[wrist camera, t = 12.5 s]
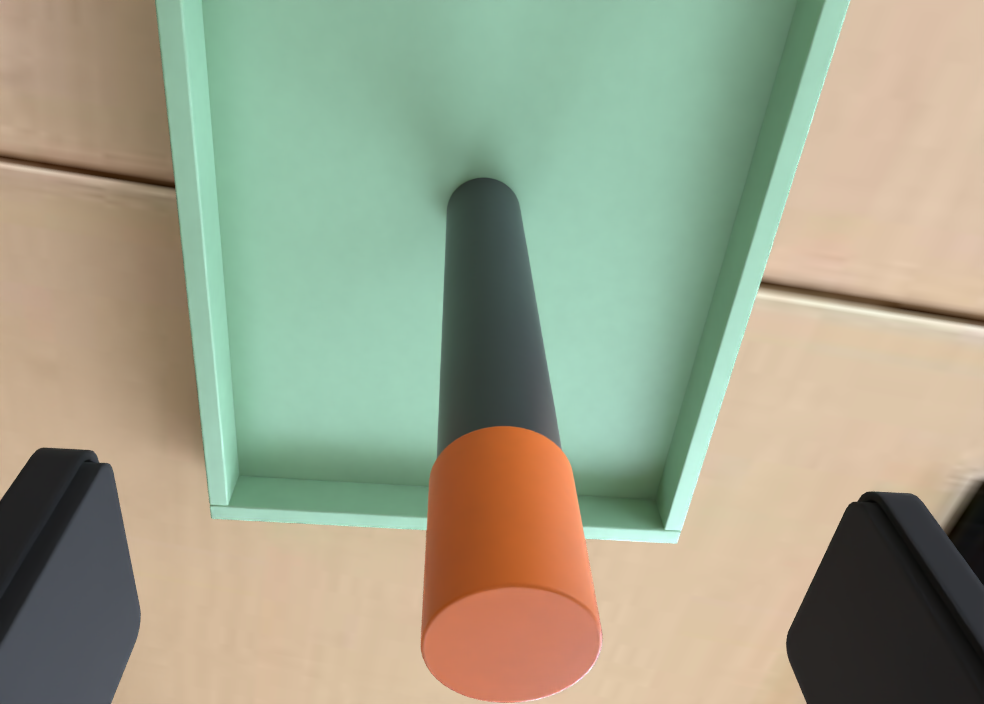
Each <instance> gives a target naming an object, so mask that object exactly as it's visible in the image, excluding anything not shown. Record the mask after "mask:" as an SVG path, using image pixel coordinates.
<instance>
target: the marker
mask: <svg viewBox="0 0 984 704" xmlns="http://www.w3.org/2000/svg"><path fill="white" fill-rule="evenodd" d="M601 646H602V629H601V623H600V618H599V612H598V607H597V602H596V596H595V591H594V585H593V580H592V574H591V569H590V564H589V558H588V553H587V547H586V542H585V536H584V531H583V526H582V520H581V515H580V509H579V504H578V498H577V493H576V488H575V482H574V477H573V472H572V467H571V465H570V462H569V460H568V458H567V457H566V455H565V454H564V452H563V451H562V446H561V441H560V435H559V429H558V423H557V417H556V412H555V406H554V400H553V394H552V389H551V383H550V377H549V371H548V365H547V360H546V354H545V348H544V342H543V337H542V331H541V325H540V319H539V314H538V308H537V302H536V296H535V290H534V285H533V279H532V273H531V267H530V262H529V256H528V250H527V244H526V238H525V233H524V227H523V221H522V215H521V210H520V205H519V201H518V198H517V197H516V195H515V193H514V192H513V191H512V190H511V188H510V187H508V186H507V185H506V184H504V183H503V182H501V181H498V180H496V179H492V178H476V179H472V180H469V181H467V182H465V183H463V184H462V185H460V186H459V187H458V188H457V189H456V190H455V191H454V192H453V194H452V196H451V197H450V199H449V202H448V205H447V217H446V242H445V266H444V291H443V315H442V340H441V364H440V389H439V413H438V438H437V459H436V461H435V463H434V465H433V467H432V470H431V473H430V478H429V493H428V512H427V531H426V551H425V570H424V590H423V609H422V628H421V652H422V656H423V659H424V661H425V663H426V666H427V667H428V669H429V670H430V672H431V673H432V674H433V676H434V677H435V678H436V679H437V680H438V681H440V682H441V683H442V684H443V685H445V686H446V687H448V688H450V689H451V690H453V691H455V692H457V693H459V694H462V695H464V696H467V697H470V698H474V699H478V700H483V701H489V702H500V703H514V702H525V701H531V700H536V699H540V698H544V697H547V696H550V695H553V694H556V693H558V692H560V691H562V690H565V689H566V688H568V687H570V686H572V685H573V684H575V683H576V682H577V681H579V680H580V679H581V678H583V677H584V676H585V675H586V674H587V673H588V672H589V670H590V669H591V668H592V667H593V665H594V664H595V662H596V660H597V659H598V656H599V653H600V651H601Z"/></svg>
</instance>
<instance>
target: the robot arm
mask: <svg viewBox="0 0 984 704" xmlns="http://www.w3.org/2000/svg"><path fill="white" fill-rule="evenodd" d="M140 616H141V613H140V605H139V600H138V595H137V590H136V585H135V580H134V575H133V570H132V565H131V560H130V555H129V549H128V544H127V539H126V534H125V529H124V524H123V519H122V514H121V509H120V504H119V499H118V493H117V488H116V483H115V478H114V473H113V470H112V467H111V465H110V464H108V463H99V461H98V458H97V455H96V454H95V453H94V451H91V450H77V449H59V448H40V449H38V450H37V451H36V452H35V453H34V454H33V455H32V456H31V457H30V459H29V460H28V462H27V463H26V465H25V466H24V468H23V469H22V470H21V472H20V473H19V475H18V476H17V478H16V479H15V480H14V482H13V483H12V485H11V486H10V488H9V489H8V491H7V492H6V493H5V495H4V496H3V498H2V499H1V501H0V704H111V702H112V699H113V697H114V694H115V692H116V689H117V687H118V684H119V682H120V679H121V677H122V674H123V672H124V669H125V667H126V664H127V662H128V659H129V657H130V654H131V652H132V649H133V647H134V644H135V642H136V639H137V636H138V632H139V627H140ZM786 647H787V654H788V658H789V661H790V664H791V666H792V669H793V671H794V674H795V676H796V678H797V681H798V683H799V686H800V688H801V690H802V693H803V695H804V698H805V700H806V702H807V704H984V586H983V585H982V583H981V582H980V581H979V579H978V578H977V577H976V575H975V574H974V572H973V571H972V570H971V568H970V567H969V565H968V564H967V563H966V561H965V560H964V559H963V557H962V556H961V554H960V553H959V552H958V550H957V549H956V548H955V546H954V545H953V543H952V542H951V541H950V539H949V538H948V536H947V535H946V534H945V532H944V531H943V530H942V528H941V527H940V525H939V524H938V523H937V521H936V520H935V519H934V517H933V516H932V514H931V513H930V512H929V510H928V509H927V507H926V506H925V505H924V503H923V502H922V501H921V500H920V499H919V498H918V497H917V496H915V495H913V494H910V493H891V492H866V493H864V494H863V495H862V496H861V497H860V499H859V500H858V501H857V502H852V503H851V504H849V505H848V507H847V508H846V510H845V512H844V514H843V517H842V519H841V521H840V523H839V525H838V527H837V529H836V531H835V534H834V536H833V538H832V540H831V542H830V544H829V546H828V548H827V551H826V553H825V555H824V557H823V559H822V561H821V563H820V565H819V568H818V570H817V572H816V574H815V576H814V578H813V580H812V582H811V584H810V587H809V589H808V591H807V593H806V595H805V597H804V599H803V601H802V604H801V606H800V608H799V610H798V612H797V614H796V616H795V618H794V621H793V623H792V625H791V627H790V629H789V631H788V635H787V641H786Z"/></svg>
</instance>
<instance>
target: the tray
mask: <svg viewBox="0 0 984 704" xmlns="http://www.w3.org/2000/svg"><path fill="white" fill-rule="evenodd" d="M849 2H850V0H155V5H156V14H157V23H158V33H159V42H160V51H161V60H162V69H163V79H164V88H165V97H166V106H167V116H168V125H169V134H170V143H171V152H172V162H173V171H174V180H175V189H176V199H177V208H178V217H179V226H180V235H181V245H182V254H183V263H184V272H185V282H186V291H187V300H188V309H189V318H190V328H191V337H192V346H193V355H194V365H195V374H196V383H197V392H198V401H199V411H200V420H201V429H202V438H203V448H204V457H205V466H206V475H207V484H208V494H209V503H210V512H211V518H212V519H228V520H247V521H265V522H284V523H303V524H321V525H340V526H359V527H377V528H396V529H415V530H427V512H428V493H429V478H430V473H431V470H432V467H433V465H434V463H435V461H436V459H437V438H438V413H439V389H440V364H441V340H442V315H443V291H444V266H445V242H446V217H447V205H448V202H449V199H450V197H451V196H452V194H453V192H454V191H455V190H456V189H457V188H458V187H459V186H460V185H462V184H463V183H465V182H467V181H469V180H472V179H476V178H492V179H496V180H498V181H501V182H503V183H504V184H506V185H507V186H508V187H510V188H511V190H512V191H513V192H514V193H515V195H516V197H517V198H518V201H519V205H520V210H521V215H522V221H523V227H524V233H525V238H526V244H527V250H528V256H529V262H530V267H531V273H532V279H533V285H534V290H535V296H536V302H537V308H538V314H539V319H540V325H541V331H542V337H543V342H544V348H545V354H546V360H547V365H548V371H549V377H550V383H551V389H552V394H553V400H554V406H555V412H556V417H557V423H558V429H559V435H560V441H561V446H562V451H563V452H564V454H565V455H566V457H567V458H568V460H569V462H570V465H571V467H572V472H573V477H574V482H575V488H576V493H577V498H578V504H579V509H580V515H581V520H582V526H583V531H584V536H585V539H601V540H620V541H639V542H657V543H677V542H678V539H679V536H680V533H681V530H682V527H683V524H684V521H685V518H686V514H687V511H688V508H689V505H690V502H691V499H692V496H693V492H694V489H695V486H696V483H697V480H698V477H699V474H700V470H701V467H702V464H703V461H704V458H705V455H706V452H707V448H708V445H709V442H710V439H711V436H712V433H713V430H714V426H715V423H716V420H717V417H718V414H719V411H720V408H721V404H722V401H723V398H724V395H725V392H726V389H727V386H728V382H729V379H730V376H731V373H732V370H733V367H734V364H735V361H736V357H737V354H738V351H739V348H740V345H741V342H742V339H743V335H744V332H745V329H746V326H747V323H748V320H749V317H750V313H751V310H752V307H753V304H754V301H755V298H756V295H757V291H758V288H759V285H760V282H761V279H762V276H763V273H764V269H765V266H766V263H767V260H768V257H769V254H770V251H771V247H772V244H773V241H774V238H775V235H776V232H777V229H778V225H779V222H780V219H781V216H782V213H783V210H784V207H785V203H786V200H787V197H788V194H789V191H790V188H791V185H792V181H793V178H794V175H795V172H796V169H797V166H798V163H799V159H800V156H801V153H802V150H803V147H804V144H805V141H806V137H807V134H808V131H809V128H810V125H811V122H812V119H813V115H814V112H815V109H816V106H817V103H818V100H819V97H820V93H821V90H822V87H823V84H824V81H825V78H826V75H827V71H828V68H829V65H830V62H831V59H832V56H833V53H834V49H835V46H836V43H837V40H838V37H839V34H840V31H841V27H842V24H843V21H844V18H845V15H846V12H847V9H848V5H849Z"/></svg>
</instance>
